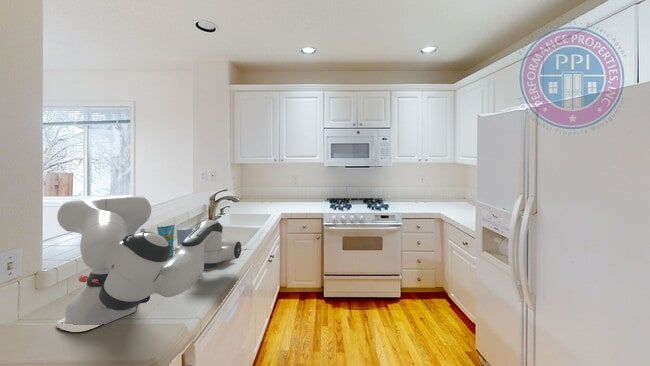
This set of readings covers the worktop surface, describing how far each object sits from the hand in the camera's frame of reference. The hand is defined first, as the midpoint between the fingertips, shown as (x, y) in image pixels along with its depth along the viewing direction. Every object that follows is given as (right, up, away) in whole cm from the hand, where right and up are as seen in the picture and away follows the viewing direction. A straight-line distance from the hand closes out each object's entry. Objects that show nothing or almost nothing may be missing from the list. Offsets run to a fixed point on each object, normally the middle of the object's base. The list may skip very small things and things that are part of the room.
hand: (183, 243), depth 139 cm
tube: (-13, -13, +12) cm, 22 cm away
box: (+1, -9, 0) cm, 9 cm away
